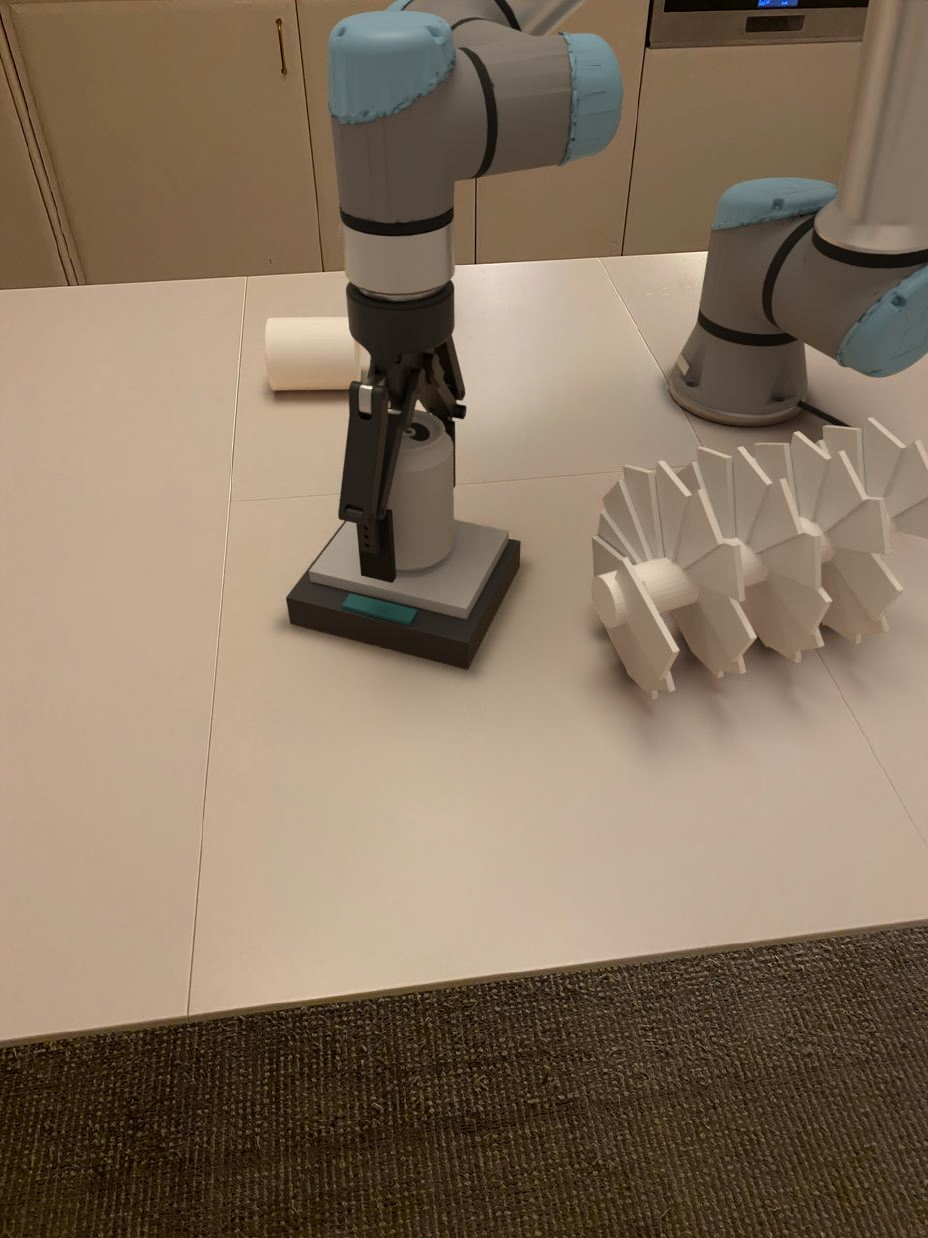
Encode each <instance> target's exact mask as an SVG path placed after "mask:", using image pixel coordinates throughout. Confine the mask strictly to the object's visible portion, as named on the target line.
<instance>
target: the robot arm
mask: <svg viewBox="0 0 928 1238" xmlns="http://www.w3.org/2000/svg"><path fill="white" fill-rule="evenodd" d="M587 1H588V0H395V1H394V2H393V3H392V4H390V5H389V6H388V7H387V8H386V9H385V10H377V11H376V10H375V11H366V12H361V13H356V14H353V15H350V16H347V17H345V18H342V19H341V20H340V21H339V22H337V23H336V24H335V25H334V27H333V28H332V30H331V31H330V34H329V36H328V44H327V63H326V64H327V88H328V89H327V90H328V101H327V109H328V115H329V117H330V123H331V133H332V134H331V135H332V143H333V152H334V163H335V171H336V182H337V190H338V191H337V192H338V200H339V201H338V202H339V204H338V205H339V216H340V223H339V224H338V227H337V235H338V236H339V237H340V238H341V239H342V252H343V261H344V263H343V264H344V274H345V277H346V279H347V281H349V282H348V283H347V284H346V286H345V297H346V308H347V317H348V321H349V330H350V333H351V335H352V337H353V338H354V340H355V341H356V342H358V343H359V344H360V346H361V347H362V348H364V349H365V350H366V351H367V353H368V354H369V356H370V359H369V367H368V371H367V378H366V381H364V382H363V381H361V382H358V381H352V382H351V383H350V386H349V389H348V425H347V434H346V443H345V450H344V459H343V468H342V476H341V486H340V495H339V503H338V510H337V517H338V519H339V521H343V522H344V521H348V522H353V523H356V526H357V537H358V548H359V559H360V569H361V576H365V577H369V578H373V579H377V580H381V581H386V582H390V583H393V582H394V580H395V579H396V564H395V548H394V531H393V515H392V510H390V509H387V504H388V500H389V495H390V490H391V486H392V481H393V477H394V472H395V467H396V463H397V458H398V454H399V449H400V444H401V440H402V435H403V431H404V430H405V429H407V428H409V427H410V426H411V424H412V420H413V415H414V410H416V406H417V402H419V403H420V404H421V406H422V407H423V409H424V410H425V412H428V413H430V414H432V415H434V416H436V417H437V418H439V419H440V420H441V421H442V422H443V424H444V427H445V432H446V433H447V434H448V435H449V436H450V437H451V440H452V442H453V469H454V489H455V488H456V485H457V482H456V480H457V479H456V475H457V474H456V421H455V420H454V419H458V420H465V417H466V416H467V415H466V414H467V405H465V404H459V403H457V401H460V402H463V401H464V399H465V396H466V386H465V382H464V379H463V378H464V377H463V375H462V371H461V366H460V362H459V358H458V353H457V350H456V346H455V341H454V337H453V333H454V330H455V324H456V323H455V322H456V321H455V284H454V283H453V280H452V279H453V277H454V275H455V274H456V250H455V249H456V245H455V241H456V239H455V238H456V237H455V187H456V186H455V185H456V183H457V182H459V181H467V180H474V179H479V178H483V177H489V176H497V175H502V174H508V173H515V172H520V171H521V172H522V171H526V170H527V171H528V170H533V169H539V168H540V169H541V168H546V167H553V166H557V167H564V166H566V165H567V164H569V163H572V162H575V161H579V160H583V159H586V158H590V157H593V156H596V155H598V154H600V153H602V152H603V151H604V150H605V149H607V147H608V146H609V145H610V144H611V143H612V141H613V139H614V137H615V136H616V134H617V132H618V129H619V126H620V124H621V120H622V113H623V112H622V109H623V99H624V82H623V75H622V70H621V67H620V64H619V61H618V58H617V55H616V53H615V52H614V50H613V48H612V47H611V46H610V45H609V43H608V42H607V41H606V40H605V39H604V38H603V37H601V36H599V35H597V34H595V33H590V32H587V33H586V32H585V33H568V32H567V31H565V30H563V31H559V32H557V33H556V34H554V35H552V33H554V32H555V31H556V30H557V29H558V28H559V27H560V26H561V25H562V24H563V23H565V22H566V20H567V19H569V18H570V17H571V16H572V15H573V14H574V13H575V12H576V11H577V10H578V9H579V8H581V6H583V5H584V4H585V3H586V2H587ZM847 125H848V126H847V131H846V135H845V144H844V148H843V154H842V161H841V167H840V172H839V178H838V184H837V185H835V184H834V183H831V182H828V181H825V180H821V179H813V178H805V177H765V178H756V179H751V180H746V181H742V182H738V183H736V184H733V185H731V186H730V187H729V188H727V189H725V191H724V192H723V193H722V195H721V196H720V198H719V200H718V203H717V207H716V212H715V217H714V220H713V224H712V225H711V229H710V236H709V243H708V249H707V256H706V262H705V269H704V275H703V280H702V287H701V293H700V294H701V295H700V300H699V306H698V308H699V309H698V313H697V318H696V322H695V325H694V327H693V329H692V331H691V333H690V334H689V336H688V338H687V340H686V341H685V344H684V346H683V348H682V349H681V351H680V353H679V355H678V357H677V359H676V360H675V363H674V364H673V367H672V369H671V373H670V378H669V380H670V381H669V392H670V394H671V396H672V398H673V399H674V400H675V402H676V403H677V404H679V405H680V406H681V407H682V408H683V409H684V410H687V411H688V412H689V413H692V414H693V415H695V416H698V417H700V418H703V419H706V420H709V421H711V422H716V423H720V424H724V425H729V426H736V427H737V426H738V427H762V426H763V427H765V426H772V425H775V424H779V423H783V422H786V421H788V420H791V419H792V418H794V417H796V416H797V415H798V414H799V413H800V412H801V411H802V410H803V411H806V412H807V413H810V414H811V415H813V416H815V417H817V418H819V419H821V420H824V421H825V422H828V423H829V424H831V425H832V426H842V427H852V428H854V427H853V426H851V425H849V424H848V423H846V422H845V421H842V420H841V419H838V418H836V417H835V416H832V415H831V414H829V413H827V412H825V411H823V410H821V409H819V408H817V407H816V406H813V405H810V404H809V403H807V402H805V401H806V398H807V394H808V385H809V381H808V371H807V369H808V368H807V359H806V348H805V347H806V346H805V345H808V346H809V347H811V348H813V349H814V350H816V351H818V352H819V353H822V354H824V355H825V356H827V357H829V358H831V359H833V360H834V361H836V363H837V364H838V365H839V366H840V367H842V368H850V369H851V370H853V371H855V372H857V373H859V374H861V375H863V376H866V377H869V378H873V379H875V378H876V379H879V378H880V379H881V378H888V377H891V376H894V375H897V374H899V373H901V372H903V371H905V370H907V369H909V368H910V367H912V366H913V365H915V364H916V363H917V362H919V361H920V360H921V359H923V358H924V357H925V356H926V355H927V354H928V0H868V6H867V13H866V18H865V25H864V30H863V36H862V42H861V48H860V54H859V60H858V66H857V71H856V77H855V84H854V89H853V95H852V101H851V107H850V112H849V119H848V124H847ZM392 410H395V411H401V413H400V414H391V413H388V411H392Z"/></svg>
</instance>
